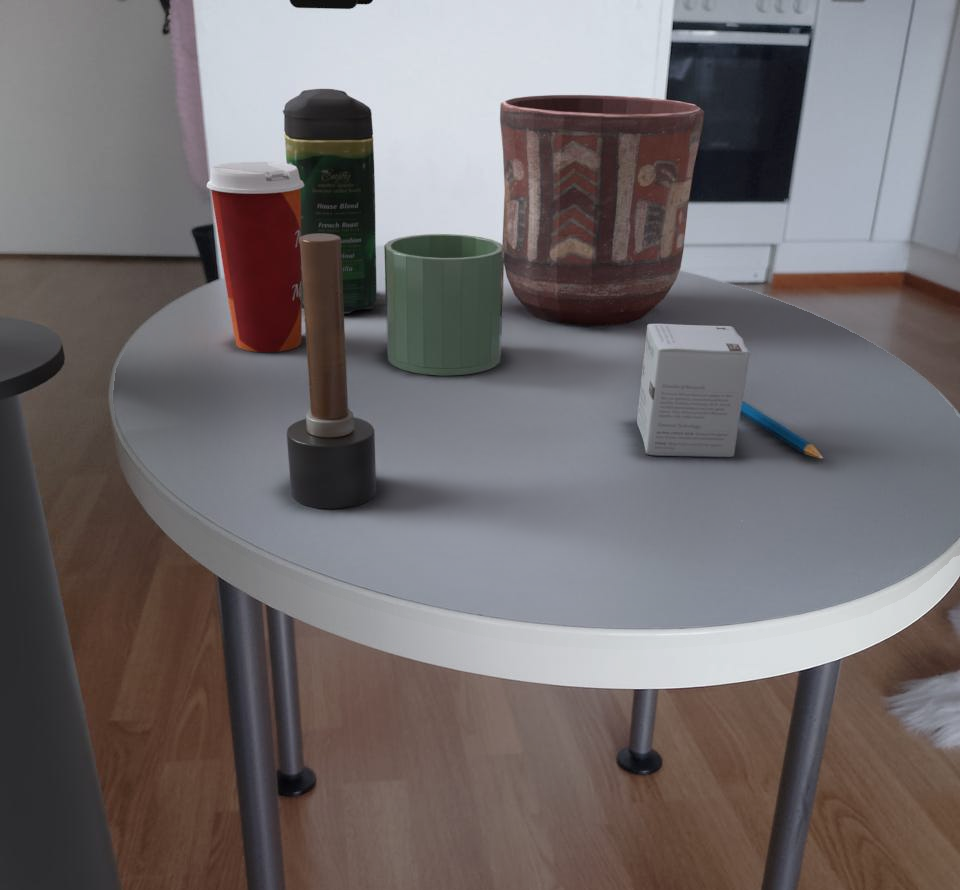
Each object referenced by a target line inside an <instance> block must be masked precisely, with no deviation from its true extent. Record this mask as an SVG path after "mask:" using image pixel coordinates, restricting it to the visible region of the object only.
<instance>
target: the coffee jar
mask: <svg viewBox="0 0 960 890" xmlns="http://www.w3.org/2000/svg"><path fill="white" fill-rule="evenodd" d="M282 113H283V117H284V119H283V121H284V122H283V123H284V124H283V125H284V126H283V127H284V128H283V131H284V141H285V142H284V145H285V159H286V162H285V163H286V164H290V165H294V166H296V167H297V169H298V172H299V177H300V180H302V181H303V183H304V187H302V188H300V190H301V236H304V235H308V234H319V233H322V234H333V235H337V236H339V237H340V241H341V263H342V285H343V307H344V315H347V314H350V313H353V312H355V311H361V310H369V309H372V308H373V307H374V306H375V304H376V302H377V246H376V245H377V244H376V239H377V237H376V181H375V178H376V177H375V176H376V175H375V151H374V136H373V135H374V131H373V130H374V129H373V128H374V127H373V118H372V117H373V116H372V115H373V114H372V109H371V108H370V107H369V106H368V105H367V104H365V103H364V102H361V101H360V100H358V99H356V98H354V97H352V96H350V95H348V93H347V92H346V91H344V90H339V89H333V88H314V89H313V88H312V89H306V90H302V91H301V92H300V93H299V94H298V95H297V96H295V97H292V98H291V99H289V100H288V101H287V102H286V103H285V105H284V109H283V110H282ZM301 287H302V310H303V309H304V298H303V282H302V267H301Z"/></svg>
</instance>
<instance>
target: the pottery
mask: <svg viewBox="0 0 960 890" xmlns="http://www.w3.org/2000/svg"><path fill="white" fill-rule="evenodd" d="M499 109H500V110H499V125H500V135H501V145H502V158H503V186H504V196H503V222H502V245H503V247H504V271H505V276H506V279H507V280H508V284H509V285H510V287H511V290H512V292H513V295H514V297H516V299H517V300H518V301H519V302H520V304H521V305H522V306H523V307H524V308H525V309H526V311H527V312H528V313H529V314H531V315H532V316H534V317H535V318H538V319H541V320H544V321H546V322H550V323H556V324H561V325H568V326H569V325H571V326H583V327H608V326H609V327H611V326H617V325H627V324H632V323H634V322H638V321H641V320H642V319H643V318H644V317H645V316H647V315H648V314H649V313H650V312H651V311H652V310H653V309H654V308H656V306H658V305H659V304H660V303H661V302H663V300H664V299H665V298H666V296H667V295H668V293H669V292H670V290H671V288H672V287H673V285H674V284H675V282H676V281H677V278H678V276H679V273H680V270H681V268H682V262H683V256H684V249H685V238H686V231H687V230H686V228H687V220H688V211H689V202H690V196H691V190H692V182H693V174H694V168H695V164H696V158H697V154H698V149H699V144H700V140H701V136H702V131H703V125H704V117H705V111H704V110H703V109H702V108H700V107H699V106H697V105H696V104H694V103H689V102H684V101H679V100H671V99H662V98H654V97H653V98H652V97H641V96H625V95H624V96H623V95H603V94H602V95H600V94H547V95H529V96H528V95H527V96H521V97H514V98H510V99H507V100H504V101H502V102H501V103H500V108H499Z"/></svg>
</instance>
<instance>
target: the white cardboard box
mask: <svg viewBox="0 0 960 890" xmlns="http://www.w3.org/2000/svg"><path fill="white" fill-rule="evenodd" d="M643 354H644V355H643V360H642V361H643V362H642V371H641V380H640V389H639V397H638V407H637V417H636V424H637V427H638V429H639V432H640V435H641V438H642V441H643V445H644V451H645V454H647V455H649V456H657V457H658V456H660V457H700V458H701V457H703V458H705V457H706V458H712V457H713V458H733V457H734V456H735V453H736V444H737V438H738V432H739V425H740V420H741V419H740V418H741V413H740V412H741V406H742V401H744V400H743V399H744V393H745V387H746V381H747V373H748V367H749V360H750V355H751V353H750V351H749V349H748V348H747V346H746V344H745V342H744V339H743V337H742V336H740V334H739V333H738V332H737V330H736V329H735V328H734V326H731V325H697V324H694V325H693V324H677V323H676V324H675V323H674V324H673V323H648V324H647V326H646V335H645V346H644V353H643Z"/></svg>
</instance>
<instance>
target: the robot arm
mask: <svg viewBox="0 0 960 890" xmlns="http://www.w3.org/2000/svg"><path fill="white" fill-rule="evenodd" d="M373 1H374V0H289V3H290V5H291V6H292V7H294V8H297V9H327V10H329V9H333V10H334V9H335V10H351V9H354V8H356V6H357V5H370V4H371V3H373Z"/></svg>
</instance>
